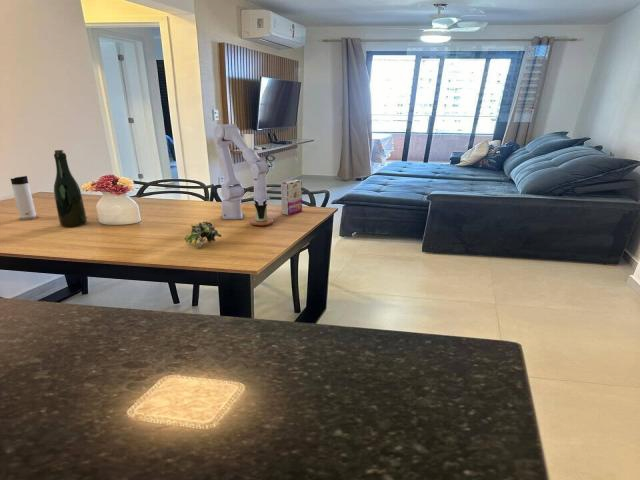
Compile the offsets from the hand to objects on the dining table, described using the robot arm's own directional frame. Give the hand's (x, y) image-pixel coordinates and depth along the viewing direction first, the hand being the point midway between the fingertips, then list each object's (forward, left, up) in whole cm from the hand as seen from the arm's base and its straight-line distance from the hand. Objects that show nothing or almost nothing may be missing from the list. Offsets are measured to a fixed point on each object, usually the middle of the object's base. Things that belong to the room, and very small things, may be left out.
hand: (261, 216), depth 177 cm
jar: (0, 0, -1) cm, 1 cm away
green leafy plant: (-23, -27, -4) cm, 36 cm away
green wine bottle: (-84, +8, -4) cm, 84 cm away
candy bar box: (+16, +19, -4) cm, 25 cm away
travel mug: (-109, +21, -4) cm, 111 cm away
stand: (0, 0, -3) cm, 3 cm away
